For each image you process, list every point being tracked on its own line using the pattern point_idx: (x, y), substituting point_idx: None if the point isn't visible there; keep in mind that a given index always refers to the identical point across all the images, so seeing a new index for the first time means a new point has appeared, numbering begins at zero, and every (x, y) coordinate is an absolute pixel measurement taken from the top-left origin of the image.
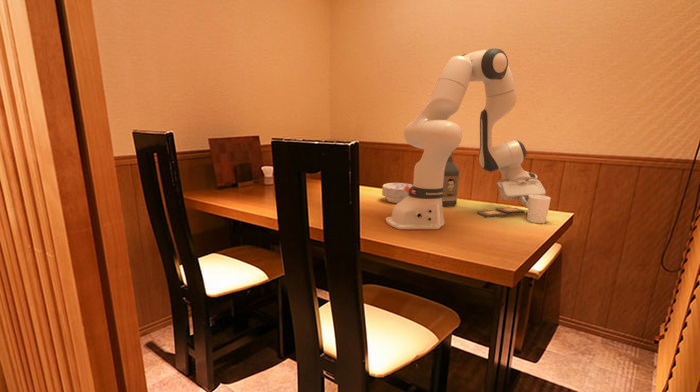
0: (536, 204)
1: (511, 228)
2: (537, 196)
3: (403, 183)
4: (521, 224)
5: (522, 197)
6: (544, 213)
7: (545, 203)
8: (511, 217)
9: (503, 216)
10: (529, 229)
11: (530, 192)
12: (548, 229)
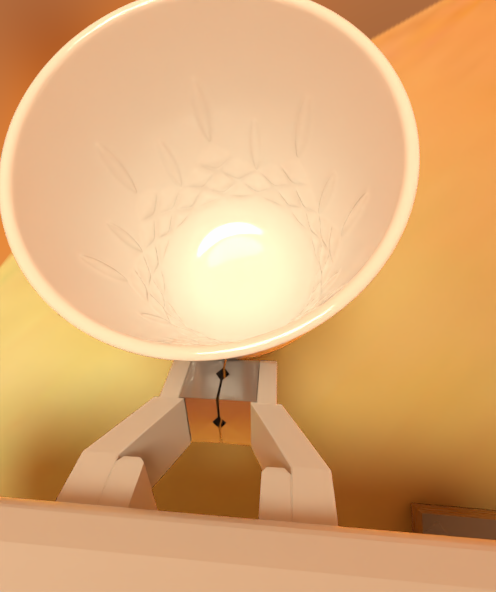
0: (343, 134)
1: None
2: (91, 307)
3: None
4: (446, 238)
5: (321, 501)
6: (241, 165)
7: (247, 59)
8: (379, 453)
9: (448, 506)
10: (474, 124)
11: (15, 578)
12: None
